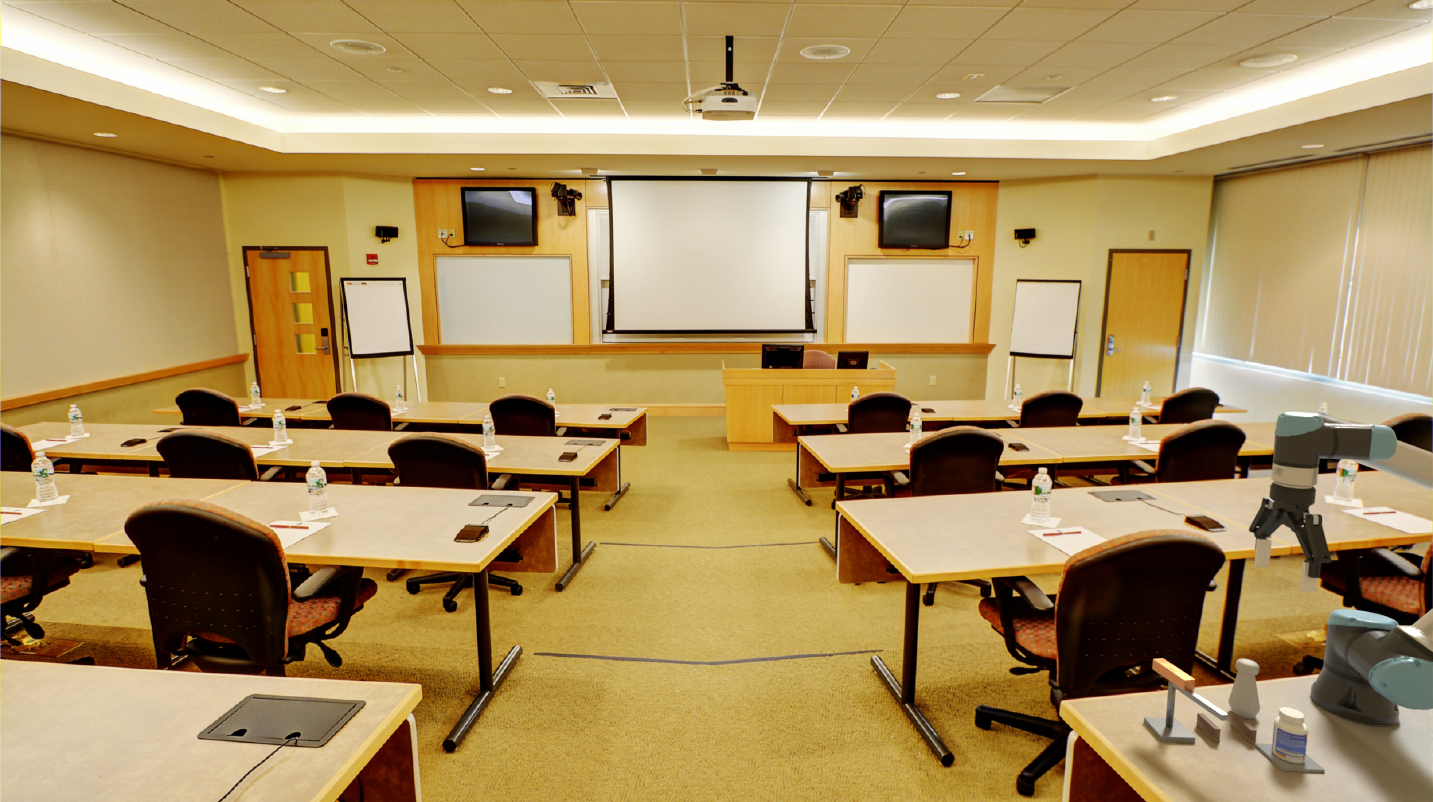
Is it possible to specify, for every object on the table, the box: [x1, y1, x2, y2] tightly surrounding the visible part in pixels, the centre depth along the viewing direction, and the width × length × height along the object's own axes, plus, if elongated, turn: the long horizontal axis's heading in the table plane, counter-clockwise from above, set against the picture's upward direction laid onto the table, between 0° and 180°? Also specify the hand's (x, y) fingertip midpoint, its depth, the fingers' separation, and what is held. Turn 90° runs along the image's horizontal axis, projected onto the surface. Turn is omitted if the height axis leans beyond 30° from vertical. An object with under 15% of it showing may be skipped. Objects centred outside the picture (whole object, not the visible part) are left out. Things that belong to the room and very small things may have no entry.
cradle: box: [1196, 712, 1257, 744], centre depth 150 cm, size 9×6×3 cm
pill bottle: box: [1271, 707, 1309, 763], centre depth 141 cm, size 5×5×10 cm
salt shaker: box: [1227, 658, 1261, 720], centre depth 156 cm, size 6×6×13 cm
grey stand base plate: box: [1143, 717, 1196, 744], centre depth 151 cm, size 7×7×1 cm
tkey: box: [1152, 657, 1229, 728], centre depth 145 cm, size 18×2×14 cm, turn 7°
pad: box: [1254, 743, 1326, 774], centre depth 141 cm, size 8×8×1 cm
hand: (1283, 578), depth 148 cm, fingers open, 13 cm apart
